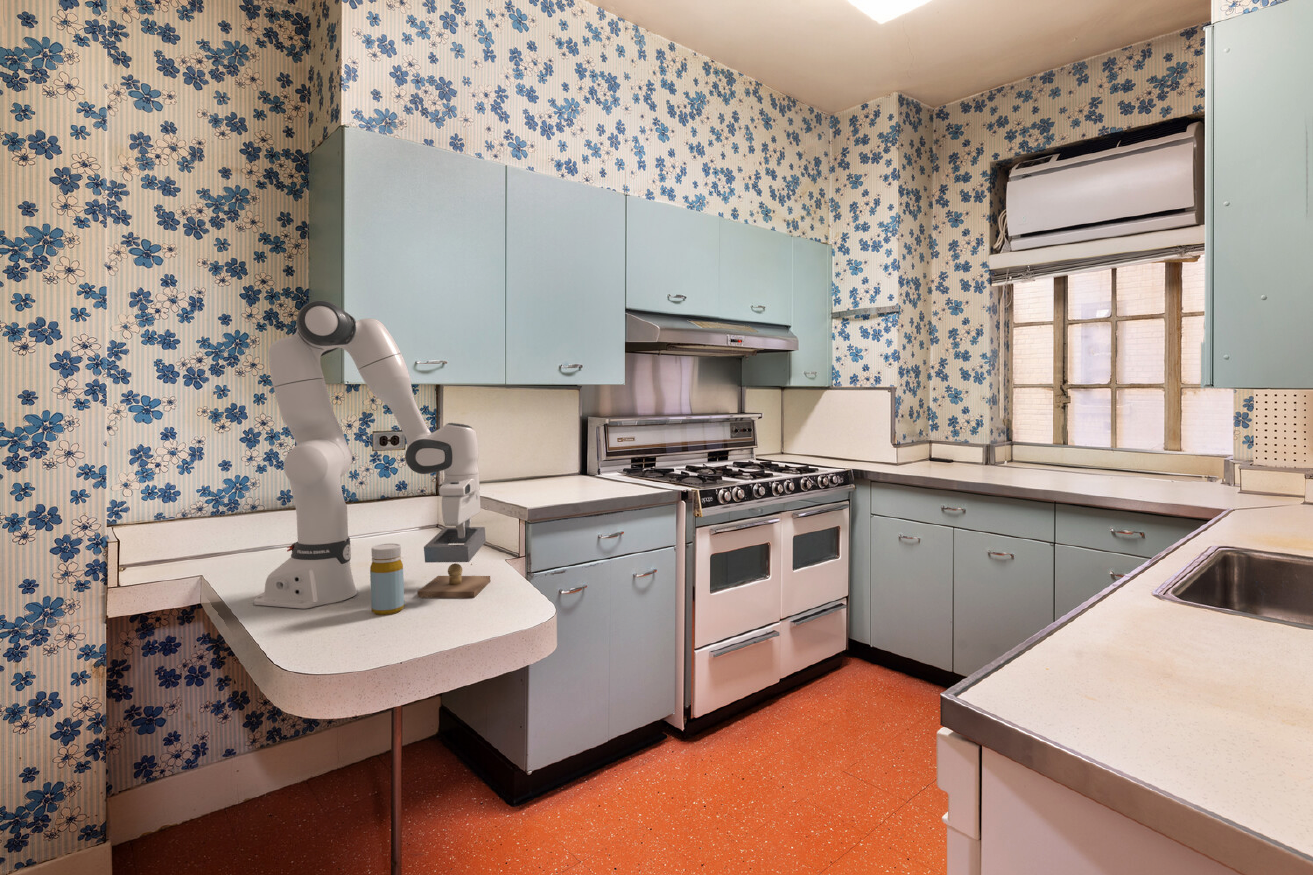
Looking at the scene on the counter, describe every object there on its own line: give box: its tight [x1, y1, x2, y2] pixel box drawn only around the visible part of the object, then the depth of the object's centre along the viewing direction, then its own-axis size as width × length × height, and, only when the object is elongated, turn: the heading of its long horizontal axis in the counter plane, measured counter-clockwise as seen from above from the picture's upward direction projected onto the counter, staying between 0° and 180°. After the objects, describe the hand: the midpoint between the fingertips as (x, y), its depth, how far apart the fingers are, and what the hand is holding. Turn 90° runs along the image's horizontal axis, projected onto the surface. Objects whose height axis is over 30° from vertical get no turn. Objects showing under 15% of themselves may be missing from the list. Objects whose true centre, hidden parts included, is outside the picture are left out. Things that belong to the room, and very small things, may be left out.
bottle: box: [369, 543, 405, 616], centre depth 150 cm, size 7×7×15 cm
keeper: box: [417, 562, 491, 599], centre depth 167 cm, size 14×14×7 cm
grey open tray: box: [423, 526, 487, 564], centre depth 167 cm, size 11×15×4 cm
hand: (463, 536), depth 174 cm, fingers closed on grey open tray, 2 cm apart
